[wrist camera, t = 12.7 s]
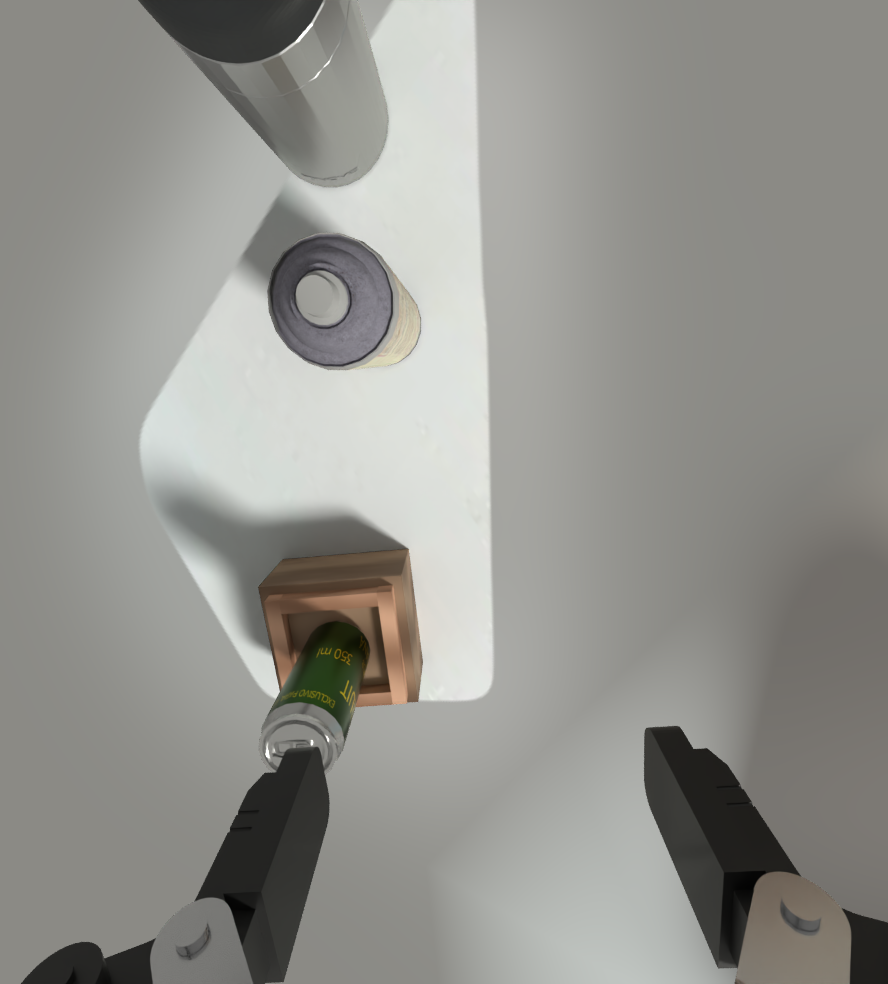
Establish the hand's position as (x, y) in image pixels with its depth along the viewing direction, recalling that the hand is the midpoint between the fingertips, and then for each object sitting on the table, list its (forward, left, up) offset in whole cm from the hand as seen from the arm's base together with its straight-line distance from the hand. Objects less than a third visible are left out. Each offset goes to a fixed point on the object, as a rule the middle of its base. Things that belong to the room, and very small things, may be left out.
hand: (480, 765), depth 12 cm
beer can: (+13, -12, -28) cm, 33 cm away
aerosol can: (-13, -6, -34) cm, 37 cm away
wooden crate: (+13, -12, -34) cm, 38 cm away
